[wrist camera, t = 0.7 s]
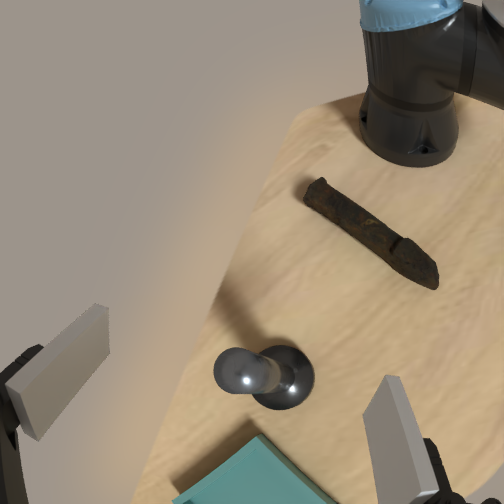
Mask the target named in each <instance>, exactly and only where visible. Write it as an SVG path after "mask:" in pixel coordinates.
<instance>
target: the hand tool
mask: <svg viewBox="0 0 504 504" xmlns="http://www.w3.org/2000/svg"><path fill="white" fill-rule="evenodd" d="M303 200H304V202H305V204H307V206H308V207H310V208H311V207H314V208H315V210H316V211H317V212H318V213H322V214H324V215H325V216H326V217H328V218H329V219H330V220H331V221H332V222H334V223H335V224H337V225H340V226H341V227H342V228H343V229H345V230H346V231H347V232H348V233H349V234H350V235H351V236H354V237H355V238H357V239H358V240H359V241H361V242H362V243H363V244H365V245H366V246H367V247H369V248H370V249H371V250H372V251H374V252H375V253H377V254H378V255H379V256H380V257H382V258H383V259H384V260H385V261H387V262H388V263H389V264H390V265H391V266H392V268H393V269H394V270H395V271H397V272H398V273H399V274H401V275H403V276H404V277H406V278H408V279H410V280H412V281H414V282H416V283H418V284H420V285H422V286H424V287H427V288H429V289H432V290H436V289H437V288H438V286H439V274H438V269H437V265H436V262H435V261H434V260H432V259H431V258H430V257H429V256H428V255H427V254H426V253H425V252H424V251H423V250H422V249H421V248H420V247H419V246H418V245H417V244H416V243H415V242H414V241H412V240H411V239H409V238H403V237H402V236H400V235H399V234H397V233H396V232H394V231H393V230H391V229H390V228H388V227H387V226H386V225H385V224H384V223H383V222H381V221H380V220H378V219H377V218H376V217H375V216H373V215H372V214H371V213H369V212H368V211H366V210H365V209H364V208H362V207H361V206H359V205H358V204H356V203H355V202H354V201H352V200H351V199H349V198H348V197H346V196H345V195H343V194H342V193H340V192H339V191H337V190H335V189H334V188H333V187H331V186H330V185H329V184H327V181H326V180H325V178H323V177H320V178H319V179H317V180H316V181H315V182H314V183H312V184H310V186H309V187H308V190H307V192H306V194H305V196H304V197H303Z"/></svg>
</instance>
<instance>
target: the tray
mask: <svg viewBox="0 0 504 504" xmlns="http://www.w3.org/2000/svg"><path fill="white" fill-rule="evenodd" d="M172 502H173V504H337V503H336V502H335V501H334V500H333V499H331V498H330V497H329V496H328V495H327V494H326V493H325V492H323V491H322V490H321V489H320V488H319V487H318V486H317V485H316V484H314V483H313V482H312V481H311V480H310V479H309V478H308V477H307V476H306V475H305V474H303V473H302V472H301V471H300V470H299V469H298V468H297V467H296V466H295V465H294V464H293V463H292V462H291V461H290V460H289V459H288V458H287V457H286V456H284V455H283V454H282V453H281V452H280V451H279V450H278V449H277V448H276V447H275V446H274V445H273V444H272V443H271V442H270V441H269V440H268V439H267V438H266V437H265V436H264V435H263V434H260V435H257V436H255V437H254V438H253V439H252V440H251V441H250V442H248V443H247V444H246V445H245V446H244V447H243V448H241V449H240V450H239V451H238V452H236V453H235V454H234V455H233V456H232V457H230V458H229V459H228V460H227V461H225V462H224V463H223V464H221V465H220V466H219V467H218V468H216V469H215V470H214V471H212V472H211V473H210V474H208V475H207V476H206V477H204V478H203V479H202V480H200V481H199V482H198V483H196V484H195V485H194V486H192V487H191V488H189V489H188V490H187V491H185V492H184V493H182V494H181V495H179V496H178V497H177V498H175V499H174V500H172Z"/></svg>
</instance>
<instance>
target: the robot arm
mask: <svg viewBox="0 0 504 504" xmlns="http://www.w3.org/2000/svg"><path fill="white" fill-rule="evenodd" d="M359 3H360V12H361V19H360V26H361V28H362V31H363V38H364V45H365V53H366V62H367V71H368V81H369V85H368V88H367V91H366V93H365V96H364V99H363V102H362V105H361V108H360V112H359V123H360V132H361V135H362V137H363V139H364V141H365V142H366V144H367V145H368V146H369V147H370V148H371V149H372V150H373V151H374V152H375V153H376V154H378V155H379V156H381V157H382V158H384V159H386V160H388V161H390V162H393V163H395V164H398V165H402V166H407V167H429V166H433V165H437V164H439V163H441V162H443V161H445V160H446V159H447V158H448V157H449V156H450V155H451V154H452V153H453V151H454V149H455V146H456V142H457V138H458V121H457V116H456V111H455V106H454V101H453V95H454V92H456V93H459V94H462V95H465V96H468V97H471V98H474V99H477V100H479V101H482V102H484V103H487V104H490V105H492V106H495V107H497V108H499V109H502V110H504V0H483V1H482V7H480V6H477V5H473V4H470V3H466V2H463V0H359ZM109 354H110V350H109V308H107V307H104V306H102V305H99V304H96V303H95V304H94V305H93V306H92V307H90V308H89V309H88V310H87V311H85V312H84V313H83V314H82V315H81V316H80V317H79V318H77V319H76V320H75V321H74V322H73V323H71V324H70V325H69V326H68V327H67V328H66V329H65V330H63V331H62V332H61V333H60V334H59V335H58V336H57V337H55V338H54V339H53V340H52V341H51V342H50V343H49V344H48V345H46V346H45V347H43V346H41V345H39V344H38V345H35V346H33V347H30V348H28V349H27V350H26V351H25V352H23V353H22V354H21V356H19V357H18V358H17V359H15V362H12V363H11V364H10V365H9V366H8V367H6V368H5V369H4V370H3V371H2V372H1V373H0V504H29V503H28V498H27V493H26V489H25V484H24V478H23V472H22V467H21V459H20V452H19V444H18V434H17V431H16V428H17V427H18V426H19V424H20V425H21V427H22V429H23V431H24V433H25V434H27V435H29V436H30V437H32V438H33V439H35V440H36V441H39V440H40V439H41V438H42V437H43V435H44V434H45V433H46V431H47V430H48V429H49V428H50V426H51V425H52V424H53V422H54V421H55V420H56V419H57V417H58V416H59V415H60V414H61V412H62V411H63V410H64V409H65V407H66V406H67V405H68V404H69V402H70V401H71V400H72V399H73V397H74V396H75V395H76V394H77V392H78V391H79V390H80V389H81V388H82V386H83V385H84V384H85V383H86V382H87V380H88V379H89V378H90V377H91V376H92V374H93V373H94V372H95V371H96V370H97V368H98V367H99V366H100V365H101V364H102V362H103V361H104V360H105V359H106V358H107V356H108V355H109ZM363 419H364V424H365V429H366V434H367V440H368V445H369V450H370V456H371V461H372V467H373V473H374V479H375V485H376V491H377V497H378V504H471V503H466V501H465V500H464V498H463V497H462V496H461V495H459V494H458V493H455V492H452V490H451V487H450V484H449V481H448V478H447V475H446V472H445V469H444V466H443V465H442V460H441V458H440V455H439V452H438V449H437V447H436V445H435V444H434V443H433V442H432V441H431V439H430V438H422V435H421V432H420V430H419V427H418V424H417V421H416V419H415V416H414V413H413V411H412V408H411V405H410V403H409V400H408V397H407V395H406V392H405V390H404V387H403V385H402V382H401V380H400V377H399V376H391V375H385V376H384V378H383V380H382V382H381V384H380V386H379V388H378V389H377V391H376V393H375V395H374V397H373V398H372V400H371V402H370V403H369V405H368V407H367V409H366V410H365V412H364V414H363ZM481 504H501V502H500V501H499V500H497V499H495V498H488V499H486V500H485V501H484V502H482V503H481Z"/></svg>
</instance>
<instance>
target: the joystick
mask: <svg viewBox="0 0 504 504" xmlns="http://www.w3.org/2000/svg"><path fill="white" fill-rule="evenodd" d="M214 378H215V381H216V383H217V384H218V386H219V387H220V388H221V389H223V390H224V391H226V392H228V393H231V394H252V395H253V397H254V398H255V399H256V401H258V402H259V403H260V404H261V405H263V406H265V407H267V408H269V409H273V410H286V409H290V408H293V407H295V406H298V405H299V404H301V403H302V402H303V401H305V400H306V399H307V397H308V396H309V395H310V393H311V391H312V389H313V386H314V382H315V373H314V368H313V366H312V364H311V362H310V360H309V359H308V358H307V357H306V356H305V355H304V354H303V353H302V352H300V351H299V350H297V349H295V348H293V347H290V346H284V345H278V346H273V347H269V348H267V349H265V350H263V351H262V352H260V353H259V354H257V353H254V352H251V351H249V350H246V349H243V348H239V347H234V348H230V349H227V350H225V351H224V352H222V353H221V354H220V355H219V356H218V358H217V359H216V361H215V364H214Z"/></svg>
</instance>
